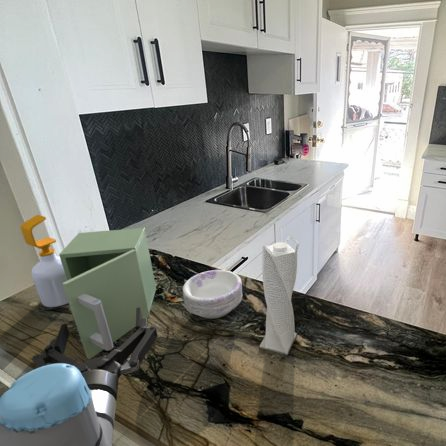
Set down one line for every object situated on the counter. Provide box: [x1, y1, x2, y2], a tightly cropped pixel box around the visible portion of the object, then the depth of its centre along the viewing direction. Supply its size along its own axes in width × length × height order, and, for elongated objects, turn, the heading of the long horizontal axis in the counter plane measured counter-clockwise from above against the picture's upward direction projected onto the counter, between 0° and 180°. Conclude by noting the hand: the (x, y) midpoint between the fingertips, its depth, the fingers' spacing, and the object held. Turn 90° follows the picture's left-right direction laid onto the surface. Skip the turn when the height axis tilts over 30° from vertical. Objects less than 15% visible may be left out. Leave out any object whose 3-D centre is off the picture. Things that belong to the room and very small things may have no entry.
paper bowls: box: [182, 269, 243, 320], centre depth 85 cm, size 15×15×8 cm
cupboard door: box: [62, 250, 150, 360], centre depth 71 cm, size 7×16×20 cm, turn 154°
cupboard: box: [58, 227, 157, 313], centre depth 83 cm, size 12×16×20 cm
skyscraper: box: [258, 236, 300, 356], centre depth 69 cm, size 8×8×28 cm
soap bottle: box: [20, 214, 69, 308], centre depth 84 cm, size 9×9×25 cm
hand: (104, 320), depth 67 cm, fingers open, 13 cm apart
